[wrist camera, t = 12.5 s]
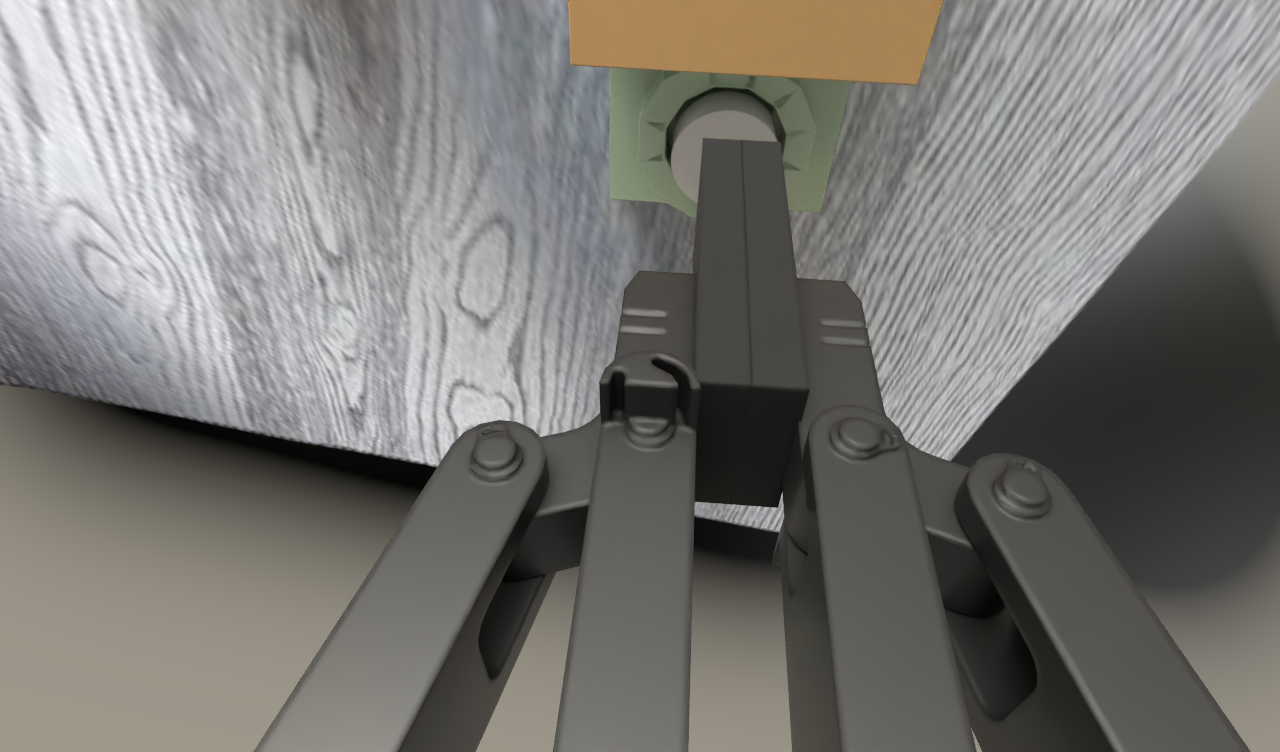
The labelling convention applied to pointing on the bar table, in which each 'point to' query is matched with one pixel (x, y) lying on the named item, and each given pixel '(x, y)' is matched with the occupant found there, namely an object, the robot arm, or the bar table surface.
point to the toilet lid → (758, 37)
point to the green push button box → (660, 97)
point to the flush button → (715, 132)
